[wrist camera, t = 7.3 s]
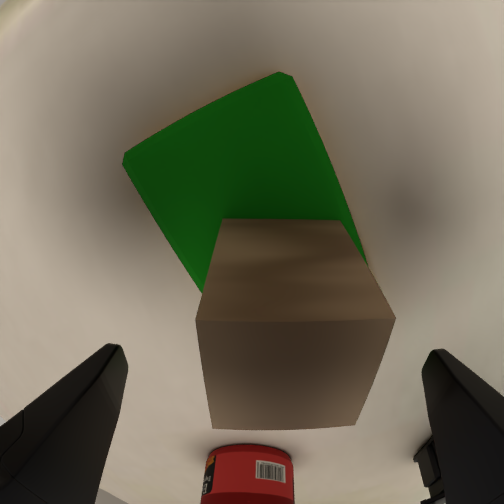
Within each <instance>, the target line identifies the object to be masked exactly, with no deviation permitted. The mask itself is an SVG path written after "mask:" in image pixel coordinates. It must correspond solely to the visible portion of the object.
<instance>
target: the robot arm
mask: <svg viewBox="0 0 504 504" xmlns="http://www.w3.org/2000/svg"><path fill="white" fill-rule="evenodd" d="M127 374H128V363H127V360H126V357H125V354H124V351H123V349H122V347H121V346H120V345H118V344H111V343H108V344H106V345H104V346H103V347H102V348H100V349H99V350H98V351H97V352H95V353H94V354H93V355H91V356H90V357H89V358H87V359H86V360H85V361H84V362H82V363H81V364H80V365H78V366H77V367H76V368H75V369H73V370H72V371H71V372H69V373H68V374H67V375H66V376H64V377H63V378H62V379H60V380H59V381H58V382H57V383H55V384H54V385H53V386H52V387H50V388H49V389H48V390H46V391H45V392H44V393H43V394H41V395H40V396H39V397H38V398H36V399H35V400H34V401H33V402H31V403H30V404H29V405H27V406H26V407H25V408H24V410H21V411H20V412H19V413H17V414H16V415H15V416H13V417H12V418H11V419H9V420H8V421H7V422H6V423H4V424H3V425H1V426H0V504H95V500H96V496H97V492H98V488H99V484H100V481H101V477H102V473H103V469H104V466H105V462H106V458H107V455H108V451H109V448H110V445H111V441H112V438H113V434H114V431H115V428H116V424H117V421H118V418H119V414H120V409H121V404H122V399H123V393H124V388H125V383H126V379H127ZM422 381H423V386H424V392H425V398H426V405H427V412H428V417H429V422H430V426H431V430H432V434H433V436H432V437H431V439H430V440H429V441H428V442H427V443H426V445H425V446H424V447H423V448H422V449H421V450H420V451H419V453H418V454H417V455H416V456H415V457H414V458H413V460H414V462H418V464H419V468H420V472H421V476H422V480H423V484H424V486H425V487H428V488H429V492H430V497H431V498H429V499H427V500H426V499H425V500H423V501H421V502H420V503H421V504H444V503H446V504H504V397H503V396H502V395H501V394H500V393H499V392H497V391H496V390H495V389H494V388H493V387H491V386H490V385H489V384H488V383H486V382H485V381H484V380H483V379H482V378H480V377H479V376H478V375H477V374H475V373H474V372H473V371H472V370H470V369H469V368H468V367H467V366H465V365H464V364H463V363H462V362H460V361H459V360H458V359H457V358H455V357H454V356H453V355H451V354H450V353H449V352H448V351H446V350H445V349H434V350H432V351H431V352H430V354H429V356H428V358H427V360H426V362H425V364H424V366H423V368H422Z"/></svg>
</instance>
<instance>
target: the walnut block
mask: <svg viewBox="0 0 504 504" xmlns="http://www.w3.org/2000/svg"><path fill="white" fill-rule="evenodd" d="M395 319H396V317H395V315H394V313H393V311H392V310H391V308H390V306H389V304H388V302H387V300H386V298H385V296H384V295H383V293H382V291H381V289H380V287H379V286H378V284H377V282H376V280H375V278H374V277H373V275H372V273H371V271H370V270H369V268H368V266H367V264H366V263H365V261H364V259H363V258H362V256H361V254H360V252H359V251H358V249H357V247H356V246H355V244H354V242H353V241H352V239H351V237H350V236H349V234H348V232H347V231H346V229H345V228H344V226H343V224H342V223H341V221H340V220H305V219H222V223H221V226H220V230H219V233H218V237H217V240H216V244H215V248H214V251H213V255H212V259H211V262H210V266H209V270H208V274H207V277H206V281H205V285H204V289H203V293H202V296H201V300H200V304H199V308H198V312H197V316H196V328H197V335H198V342H199V349H200V356H201V363H202V369H203V376H204V382H205V388H206V394H207V400H208V406H209V411H210V417H211V422H212V428H213V429H232V430H296V429H316V428H329V427H341V426H351V425H355V424H356V421H357V419H358V417H359V415H360V413H361V410H362V408H363V406H364V403H365V401H366V399H367V396H368V394H369V391H370V389H371V386H372V384H373V381H374V379H375V376H376V374H377V371H378V369H379V366H380V363H381V361H382V358H383V355H384V352H385V349H386V347H387V344H388V341H389V338H390V335H391V332H392V329H393V326H394V323H395Z"/></svg>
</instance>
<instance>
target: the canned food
mask: <svg viewBox="0 0 504 504" xmlns="http://www.w3.org/2000/svg"><path fill="white" fill-rule="evenodd" d="M200 504H295V502H294V475H293V465H292V462H291V460H290V457H289V456H288V455H287V454H286V453H284V452H282V451H281V450H278V449H275V448H271V447H267V446H261V445H244V444H243V445H231V446H225V447H221V448H219V449H216V450H215V451H213V452H212V453H211V454H210V456H209V457H208V459H207V461H206V467H205V474H204V482H203V489H202V496H201V503H200Z"/></svg>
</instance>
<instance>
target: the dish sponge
mask: <svg viewBox="0 0 504 504" xmlns="http://www.w3.org/2000/svg"><path fill="white" fill-rule="evenodd" d="M122 165H123V167H124V169H125V170H126V172H127V174H128V176H129V177H130V179H131V181H132V182H133V184H134V186H135V188H136V189H137V191H138V193H139V194H140V196H141V198H142V199H143V201H144V203H145V204H146V206H147V208H148V209H149V211H150V213H151V214H152V216H153V218H154V219H155V221H156V223H157V224H158V226H159V227H160V229H161V231H162V232H163V234H164V235H165V237H166V239H167V240H168V242H169V243H170V245H171V247H172V248H173V250H174V251H175V253H176V254H177V256H178V258H179V259H180V261H181V262H182V264H183V265H184V267H185V268H186V270H187V272H188V273H189V275H190V276H191V278H192V279H193V281H194V282H195V284H196V285H197V287H198V288H199V290H200V291H201V293H203V289H204V285H205V281H206V277H207V274H208V270H209V266H210V262H211V259H212V255H213V251H214V248H215V244H216V240H217V237H218V233H219V230H220V226H221V223H222V219H305V220H340V221H341V223H342V224H343V226H344V228H345V229H346V231H347V232H348V234H349V236H350V237H351V239H352V241H353V242H354V244H355V246H356V247H357V249H358V251H359V252H360V254H361V256H362V258H363V259H364V261H365V263H366V264H367V261H366V258H365V255H364V252H363V249H362V246H361V243H360V240H359V237H358V234H357V231H356V228H355V225H354V222H353V219H352V217H351V214H350V211H349V208H348V205H347V203H346V200H345V197H344V195H343V192H342V189H341V187H340V184H339V182H338V179H337V176H336V174H335V171H334V169H333V166H332V164H331V161H330V159H329V157H328V154H327V152H326V149H325V147H324V145H323V142H322V140H321V138H320V135H319V133H318V131H317V128H316V126H315V124H314V122H313V119H312V117H311V115H310V113H309V111H308V108H307V106H306V104H305V102H304V100H303V98H302V96H301V93H300V91H299V89H298V87H297V85H296V83H295V81H294V79H293V77H292V76H290V75H287V74H284V73H281V72H277V73H275V74H272V75H270V76H268V77H265V78H263V79H261V80H258V81H256V82H254V83H252V84H249V85H247V86H245V87H243V88H241V89H239V90H236V91H234V92H232V93H230V94H228V95H226V96H224V97H222V98H220V99H218V100H216V101H214V102H212V103H210V104H208V105H206V106H204V107H202V108H200V109H198V110H197V111H195V112H193V113H191V114H189V115H187V116H185V117H184V118H182V119H180V120H178V121H176V122H175V123H173V124H171V125H169V126H168V127H166V128H164V129H163V130H161V131H159V132H157V133H156V134H154V135H152V136H151V137H149V138H147V139H146V140H144V141H143V142H141V143H139V144H138V145H136V146H135V147H133V148H131V149H130V150H128V151H127V152H125V154H124V158H123V163H122ZM367 266H368V264H367Z"/></svg>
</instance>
